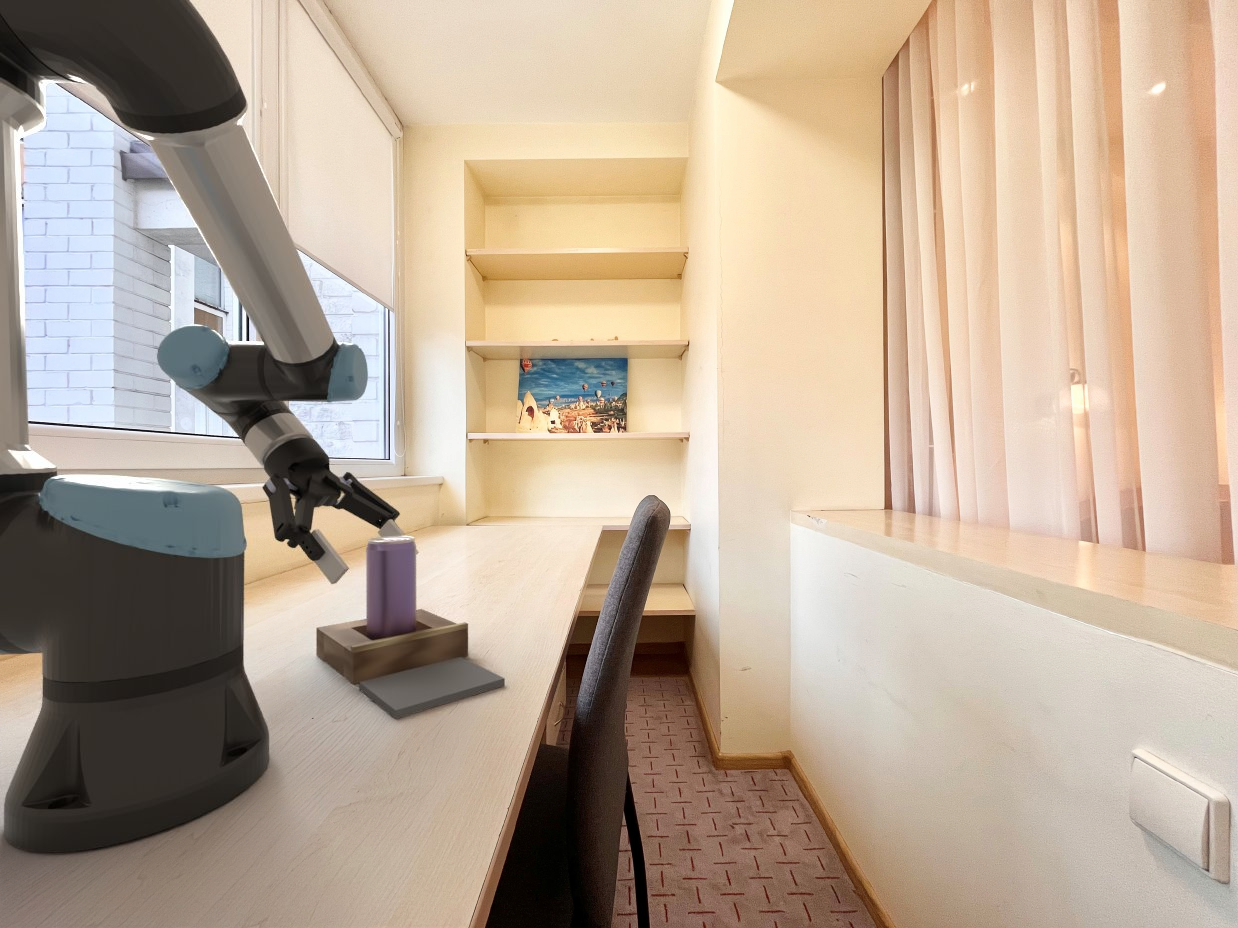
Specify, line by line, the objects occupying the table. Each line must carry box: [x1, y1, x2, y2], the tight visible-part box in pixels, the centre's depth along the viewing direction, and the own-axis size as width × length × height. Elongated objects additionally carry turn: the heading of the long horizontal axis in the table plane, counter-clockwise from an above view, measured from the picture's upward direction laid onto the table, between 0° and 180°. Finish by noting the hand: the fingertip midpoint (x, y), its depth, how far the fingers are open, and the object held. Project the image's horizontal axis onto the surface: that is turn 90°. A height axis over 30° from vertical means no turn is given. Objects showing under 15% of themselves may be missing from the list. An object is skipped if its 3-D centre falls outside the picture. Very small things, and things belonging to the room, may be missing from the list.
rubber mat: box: [358, 657, 506, 719], centre depth 62 cm, size 12×10×1 cm
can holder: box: [315, 608, 469, 685], centre depth 73 cm, size 14×14×4 cm
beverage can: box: [365, 535, 417, 641], centre depth 73 cm, size 6×6×15 cm
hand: (379, 567), depth 75 cm, fingers open, 13 cm apart
